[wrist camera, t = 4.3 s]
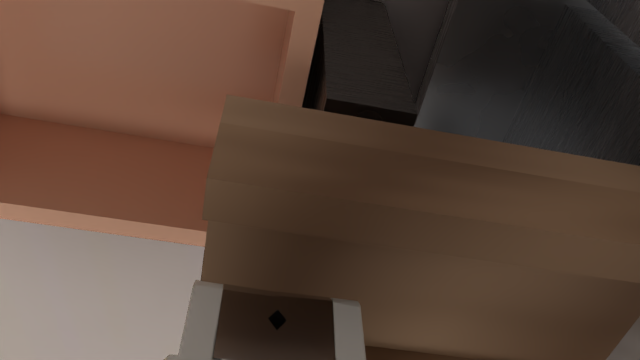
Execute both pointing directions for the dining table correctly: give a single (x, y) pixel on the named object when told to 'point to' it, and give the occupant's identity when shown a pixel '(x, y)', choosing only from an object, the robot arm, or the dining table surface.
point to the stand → (493, 73)
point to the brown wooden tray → (428, 234)
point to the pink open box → (134, 104)
